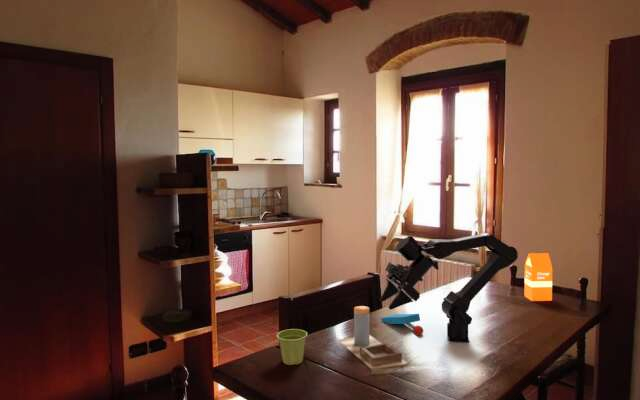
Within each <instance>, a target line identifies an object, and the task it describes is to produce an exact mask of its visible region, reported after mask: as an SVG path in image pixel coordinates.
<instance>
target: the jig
mask: <svg viewBox="0 0 640 400" xmlns="http://www.w3.org/2000/svg"><path fill="white" fill-rule="evenodd" d="M369 338H370V344H369V345H368V346H365V347H360V346H356V345H355V344H354V336H353V337H346V338H340V339H337V341H338V342H340V343H341V344H342V345H343V346H344V347H345V348H346V349H348V350H349V352H351V353H352V354H353V355H355V357H357V358H358V359H359V360H360V361H361V362H363V363H364V364H365V365H366V366H367V367H368V368H370V369H369V370H368V371H369V372H370V373H371V374H375V373H380V372H386V371H391V370H397V369H404V366H402V365H407V364H409V362H407V360H405V359H404V358H402V357H403V354H402V352H400V351H399V350H398V349H396V348H395V347H393V346H392V345H390V344H389V343H388V342H385V343H382V342H380V341H379V340H377V339H376V338H375V337H374V336H373V335H371V334H369ZM397 366H398V367H397ZM407 367H409V366H407Z"/></svg>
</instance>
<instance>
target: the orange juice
mask: <svg viewBox="0 0 640 400" xmlns="http://www.w3.org/2000/svg"><path fill="white" fill-rule="evenodd" d="M551 261H552V260H551V259H550V254H549V252H547V253H546V252H543V253H542V252H541V253H538V252H537V253H531V252H530V253H528V255H527V258H526V260H525V263H524V297H525V298H527V299H528V300H530V301H531V302H545V301H546V302H547V301H549V302H550V301H553V266H552V262H551Z"/></svg>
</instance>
